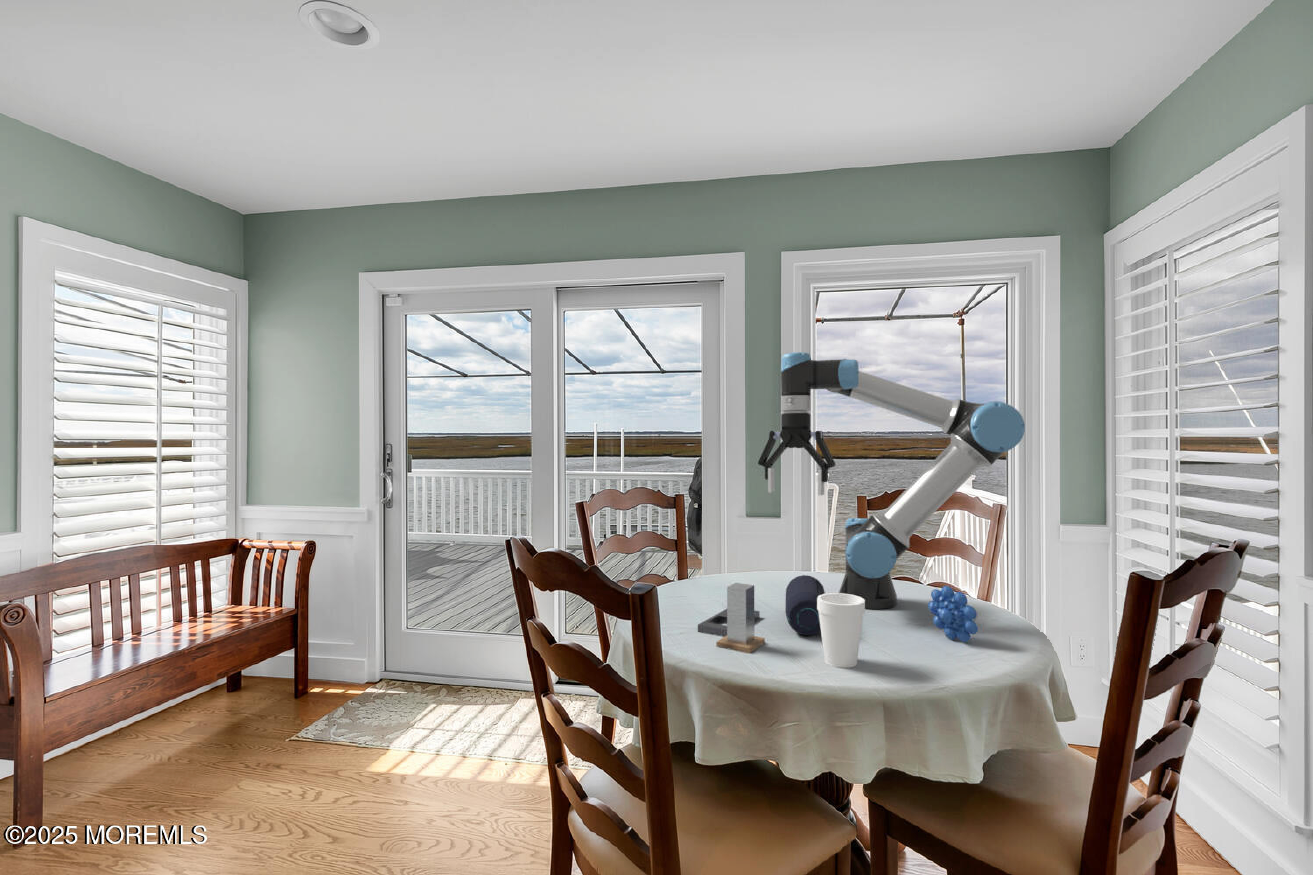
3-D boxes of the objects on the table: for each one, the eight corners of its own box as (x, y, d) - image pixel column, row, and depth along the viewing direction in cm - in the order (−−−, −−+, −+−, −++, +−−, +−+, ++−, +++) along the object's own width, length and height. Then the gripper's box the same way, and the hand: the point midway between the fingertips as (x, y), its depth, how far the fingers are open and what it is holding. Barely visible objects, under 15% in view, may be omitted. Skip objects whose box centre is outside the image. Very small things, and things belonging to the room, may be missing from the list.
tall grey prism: (754, 638, 145) (754, 585, 145) (746, 644, 142) (745, 589, 141) (735, 635, 148) (735, 582, 148) (727, 640, 144) (727, 586, 144)
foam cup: (811, 654, 138) (811, 593, 138) (853, 653, 139) (853, 592, 139) (826, 671, 129) (826, 605, 128) (872, 669, 129) (872, 604, 129)
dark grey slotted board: (759, 617, 165) (759, 610, 165) (728, 637, 150) (728, 629, 150) (730, 612, 169) (730, 606, 169) (697, 631, 154) (697, 624, 154)
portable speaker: (830, 641, 147) (830, 597, 147) (785, 638, 149) (785, 595, 149) (824, 610, 172) (824, 572, 171) (785, 608, 174) (785, 571, 173)
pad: (764, 642, 146) (764, 637, 146) (749, 652, 139) (749, 648, 139) (732, 636, 150) (732, 631, 150) (716, 646, 143) (716, 641, 143)
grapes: (917, 636, 149) (917, 584, 149) (934, 631, 153) (934, 580, 153) (966, 650, 140) (967, 595, 140) (983, 644, 144) (983, 590, 144)
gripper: (745, 412, 174) (746, 492, 174) (839, 411, 160) (838, 497, 161) (757, 413, 180) (757, 489, 180) (847, 412, 167) (847, 494, 167)
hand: (795, 493), depth 171 cm, fingers open, 13 cm apart
